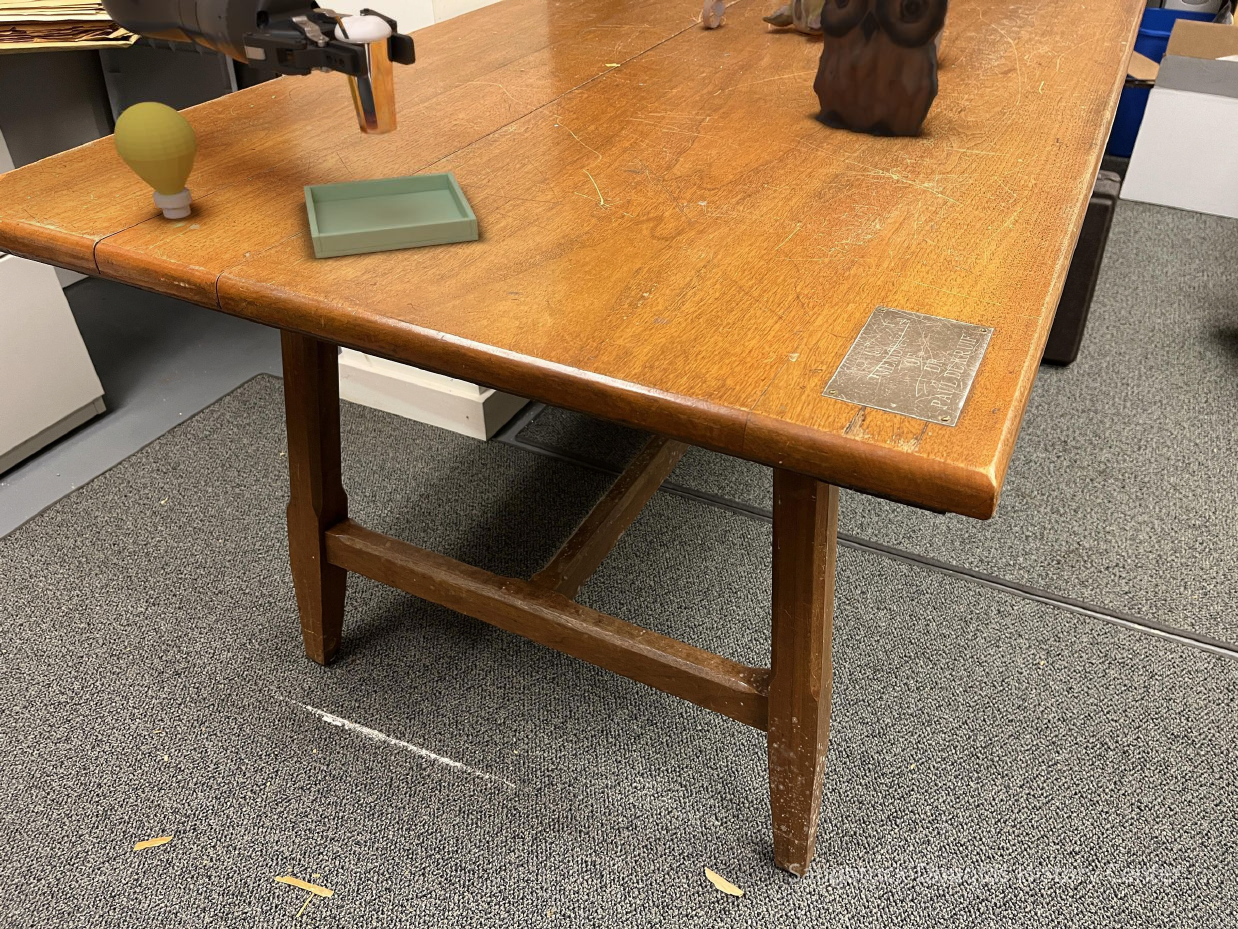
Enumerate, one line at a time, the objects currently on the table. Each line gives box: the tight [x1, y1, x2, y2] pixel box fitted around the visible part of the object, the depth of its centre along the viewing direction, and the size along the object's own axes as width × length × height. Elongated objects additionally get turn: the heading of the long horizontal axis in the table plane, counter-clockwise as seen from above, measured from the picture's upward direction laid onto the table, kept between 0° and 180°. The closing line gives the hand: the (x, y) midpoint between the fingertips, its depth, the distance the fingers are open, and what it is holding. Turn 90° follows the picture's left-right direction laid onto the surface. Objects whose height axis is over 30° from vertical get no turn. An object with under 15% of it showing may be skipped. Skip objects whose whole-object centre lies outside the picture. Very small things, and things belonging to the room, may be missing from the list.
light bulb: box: [113, 101, 198, 220], centre depth 82 cm, size 7×7×10 cm
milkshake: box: [334, 14, 398, 136], centre depth 76 cm, size 4×5×10 cm
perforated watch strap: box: [701, 0, 727, 29], centre depth 148 cm, size 3×5×5 cm, turn 148°
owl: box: [812, 0, 949, 137], centre depth 105 cm, size 13×13×20 cm
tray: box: [302, 171, 479, 260], centre depth 84 cm, size 14×12×2 cm
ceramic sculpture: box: [762, 0, 825, 36], centre depth 146 cm, size 11×9×15 cm
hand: (387, 57), depth 74 cm, fingers closed on milkshake, 4 cm apart
